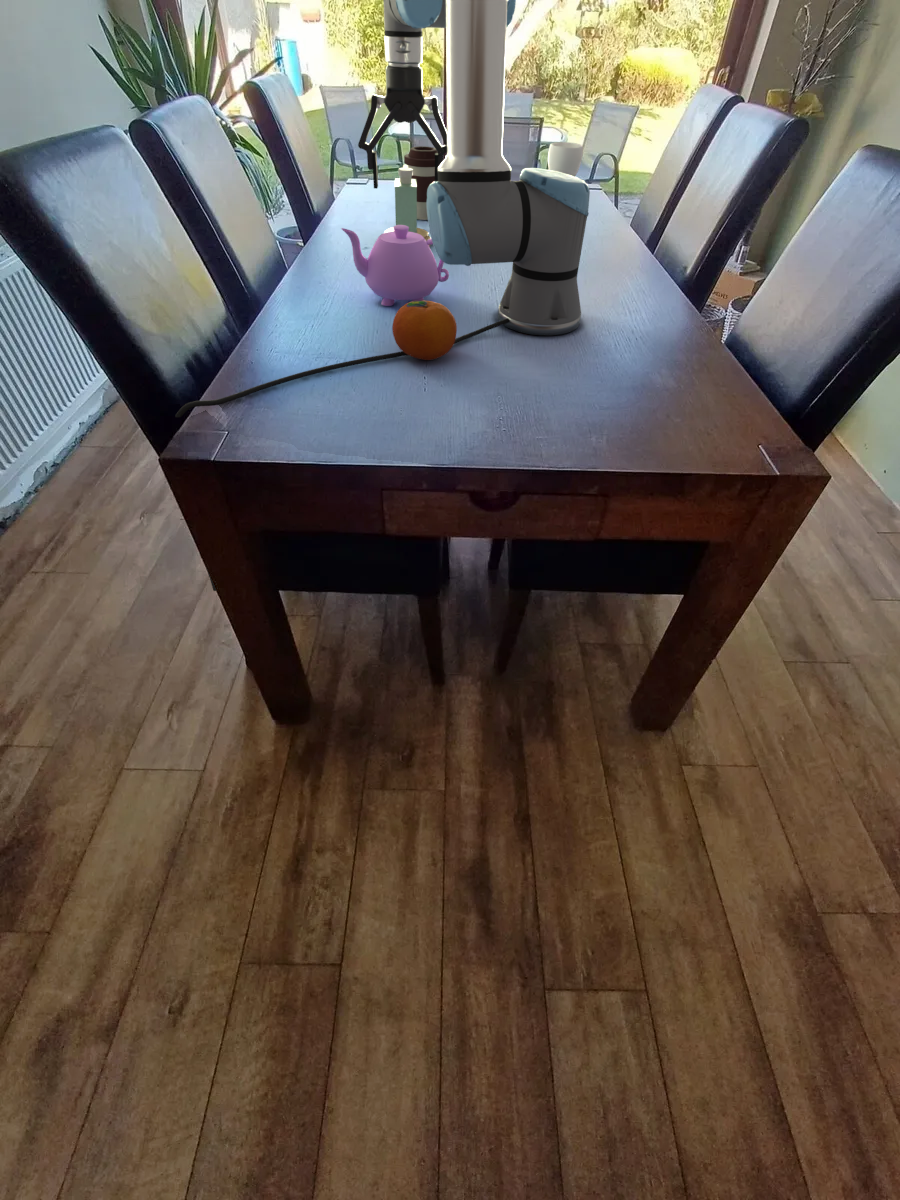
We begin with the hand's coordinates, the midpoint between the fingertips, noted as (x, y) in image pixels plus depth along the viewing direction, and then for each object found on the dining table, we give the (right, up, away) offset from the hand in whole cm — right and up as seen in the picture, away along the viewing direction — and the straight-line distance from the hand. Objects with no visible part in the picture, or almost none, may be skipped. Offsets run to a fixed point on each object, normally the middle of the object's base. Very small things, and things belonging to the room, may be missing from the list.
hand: (406, 188), depth 142 cm
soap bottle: (0, -7, +7) cm, 10 cm away
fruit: (+6, -52, -37) cm, 64 cm away
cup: (+39, +12, +31) cm, 52 cm away
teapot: (0, -34, -18) cm, 38 cm away
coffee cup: (+3, +9, +26) cm, 27 cm away
